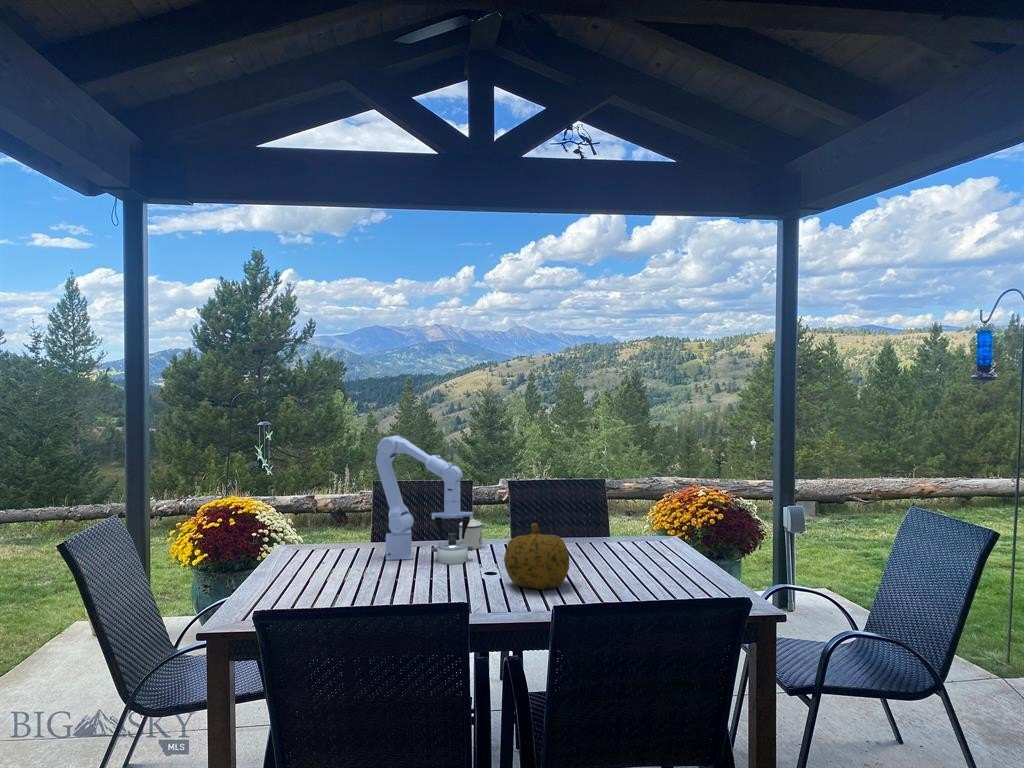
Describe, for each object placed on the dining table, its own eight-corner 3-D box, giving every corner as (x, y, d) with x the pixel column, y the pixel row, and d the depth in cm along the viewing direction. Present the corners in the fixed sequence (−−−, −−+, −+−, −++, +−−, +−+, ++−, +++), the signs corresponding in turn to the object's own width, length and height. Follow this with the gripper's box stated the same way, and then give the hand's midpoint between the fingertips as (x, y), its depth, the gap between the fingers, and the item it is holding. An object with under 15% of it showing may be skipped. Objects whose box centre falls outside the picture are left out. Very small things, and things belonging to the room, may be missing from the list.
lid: (436, 550, 255) (436, 537, 255) (439, 543, 265) (439, 531, 265) (465, 550, 255) (465, 537, 255) (467, 543, 265) (467, 531, 265)
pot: (432, 565, 254) (432, 550, 254) (431, 557, 265) (431, 543, 265) (474, 563, 256) (474, 549, 256) (471, 556, 267) (471, 542, 267)
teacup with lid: (484, 549, 278) (484, 518, 278) (461, 550, 275) (461, 519, 275) (477, 542, 289) (477, 512, 289) (455, 543, 287) (455, 514, 287)
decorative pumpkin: (553, 596, 214) (550, 527, 216) (494, 591, 226) (491, 526, 227) (584, 583, 231) (581, 519, 233) (527, 579, 243) (524, 518, 244)
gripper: (432, 502, 255) (432, 541, 255) (473, 501, 257) (473, 540, 257) (431, 499, 262) (431, 537, 262) (471, 498, 264) (471, 536, 264)
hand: (452, 538), depth 260 cm, fingers open, 7 cm apart
